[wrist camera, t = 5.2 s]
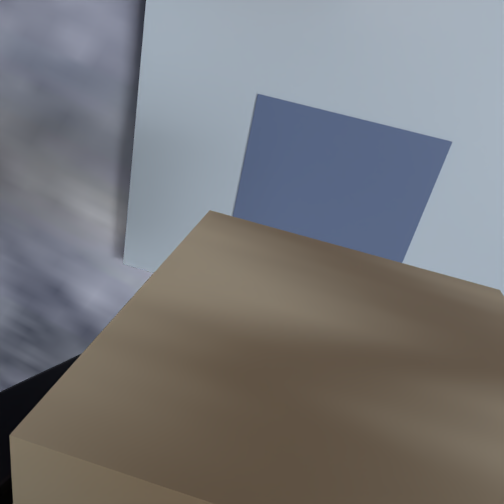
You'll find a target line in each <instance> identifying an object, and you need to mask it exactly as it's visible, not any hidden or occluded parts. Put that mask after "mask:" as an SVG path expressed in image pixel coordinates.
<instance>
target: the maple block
mask: <svg viewBox="0 0 504 504" xmlns="http://www.w3.org/2000/svg"><path fill="white" fill-rule="evenodd" d="M9 437H10V456H11V475H12V493H13V504H504V296H503V294H502V293H501V291H500V290H498V289H495V288H491V287H487V286H484V285H480V284H477V283H473V282H469V281H466V280H462V279H458V278H455V277H451V276H447V275H444V274H440V273H437V272H433V271H429V270H426V269H422V268H418V267H415V266H411V265H407V264H404V263H400V262H397V261H393V260H389V259H386V258H382V257H378V256H375V255H371V254H368V253H364V252H360V251H357V250H353V249H349V248H346V247H342V246H338V245H335V244H331V243H328V242H324V241H320V240H317V239H313V238H309V237H306V236H302V235H298V234H295V233H291V232H288V231H284V230H280V229H277V228H273V227H269V226H266V225H262V224H258V223H255V222H251V221H248V220H244V219H240V218H237V217H233V216H229V215H226V214H222V213H218V212H215V211H211V210H209V212H208V213H207V214H206V215H205V216H204V217H203V218H202V219H201V221H200V222H199V223H198V224H197V225H196V226H195V227H194V228H193V229H192V231H191V232H190V233H189V234H188V235H187V236H186V237H185V238H184V240H183V241H182V242H181V243H180V244H179V245H178V246H177V247H176V249H175V250H174V251H173V252H172V253H171V254H170V255H169V256H168V258H167V259H166V260H165V261H164V262H163V263H162V264H161V265H160V267H159V268H158V269H157V270H156V271H155V272H154V273H153V274H152V276H151V277H150V278H149V279H148V280H147V281H146V282H145V283H144V285H143V286H142V287H141V288H140V289H139V290H138V291H137V292H136V294H135V295H134V296H133V297H132V298H131V299H130V300H129V301H128V303H127V304H126V305H125V306H124V307H123V308H122V309H121V310H120V312H119V313H118V314H117V315H116V316H115V317H114V318H113V319H112V320H111V322H110V323H109V324H108V325H107V326H106V327H105V328H104V329H103V331H102V332H101V333H100V334H99V335H98V336H97V337H96V338H95V340H94V341H93V342H92V343H91V344H90V345H89V346H88V347H87V349H86V350H85V351H84V352H83V353H82V354H81V355H80V356H79V358H78V359H77V360H76V361H75V362H74V363H73V364H72V365H71V367H70V368H69V369H68V370H67V371H66V372H65V373H64V374H63V376H62V377H61V378H60V379H59V380H58V381H57V382H56V383H55V385H54V386H53V387H52V388H51V389H50V390H49V391H48V392H47V394H46V395H45V396H44V397H43V398H42V399H41V400H40V401H39V403H38V404H37V405H36V406H35V407H34V408H33V409H32V410H31V411H30V413H29V414H28V415H27V416H26V417H25V418H24V419H23V420H22V422H21V423H20V424H19V425H18V426H17V427H16V428H15V429H14V431H13V432H12V433H11V434H10V435H9Z"/></svg>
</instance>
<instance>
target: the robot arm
mask: <svg viewBox="0 0 504 504" xmlns="http://www.w3.org/2000/svg"><path fill="white" fill-rule="evenodd" d="M80 355H81V354H80ZM80 355H78V356H75V357H73V358H71V359H69V360H67V361H65V362H63V363H61V364H58V365H56V366H54V367H52V368H50V369H48V370H46V371H44V372H41V373H39V374H37V375H35V376H33V377H31V378H29V379H27V380H24V381H22V382H20V383H18V384H16V385H14V386H12V387H10V388H7V389H5V390H3V391H1V392H0V504H13V493H12V475H11V456H10V437H9V435H10V434H11V433H12V432H13V431H14V429H15V428H16V427H17V426H18V425H19V424H20V423H21V422H22V420H23V419H24V418H25V417H26V416H27V415H28V414H29V413H30V411H31V410H32V409H33V408H34V407H35V406H36V405H37V404H38V403H39V401H40V400H41V399H42V398H43V397H44V396H45V395H46V394H47V392H48V391H49V390H50V389H51V388H52V387H53V386H54V385H55V383H56V382H57V381H58V380H59V379H60V378H61V377H62V376H63V374H64V373H65V372H66V371H67V370H68V369H69V368H70V367H71V365H72V364H73V363H74V362H75V361H76V360H77V359H78V358H79V356H80Z"/></svg>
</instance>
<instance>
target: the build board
mask: <svg viewBox="0 0 504 504" xmlns="http://www.w3.org/2000/svg"><path fill="white" fill-rule="evenodd" d="M209 210H211V211H215V212H218V213H222V214H226V215H229V216H233V217H237V218H240V219H244V220H248V221H251V222H255V223H258V224H262V225H266V226H269V227H273V228H277V229H280V230H284V231H288V232H291V233H295V234H298V235H302V236H306V237H309V238H313V239H317V240H320V241H324V242H328V243H331V244H335V245H338V246H342V247H346V248H349V249H353V250H357V251H360V252H364V253H368V254H371V255H375V256H378V257H382V258H386V259H389V260H393V261H397V262H400V263H404V264H407V265H411V266H415V267H418V268H422V269H426V270H429V271H433V272H437V273H440V274H444V275H447V276H451V277H455V278H458V279H462V280H466V281H469V282H473V283H477V284H480V285H484V286H487V287H491V288H495V289H498V290H500V291H501V293H502V294H503V296H504V0H146V7H145V18H144V30H143V41H142V52H141V64H140V75H139V87H138V98H137V110H136V121H135V132H134V144H133V155H132V167H131V178H130V190H129V201H128V212H127V224H126V235H125V247H124V258H123V264H124V265H128V266H131V267H135V268H138V269H142V270H145V271H148V272H152V273H154V272H155V271H156V270H157V269H158V268H159V267H160V265H161V264H162V263H163V262H164V261H165V260H166V259H167V258H168V256H169V255H170V254H171V253H172V252H173V251H174V250H175V249H176V247H177V246H178V245H179V244H180V243H181V242H182V241H183V240H184V238H185V237H186V236H187V235H188V234H189V233H190V232H191V231H192V229H193V228H194V227H195V226H196V225H197V224H198V223H199V222H200V221H201V219H202V218H203V217H204V216H205V215H206V214H207V213H208V212H209Z"/></svg>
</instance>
